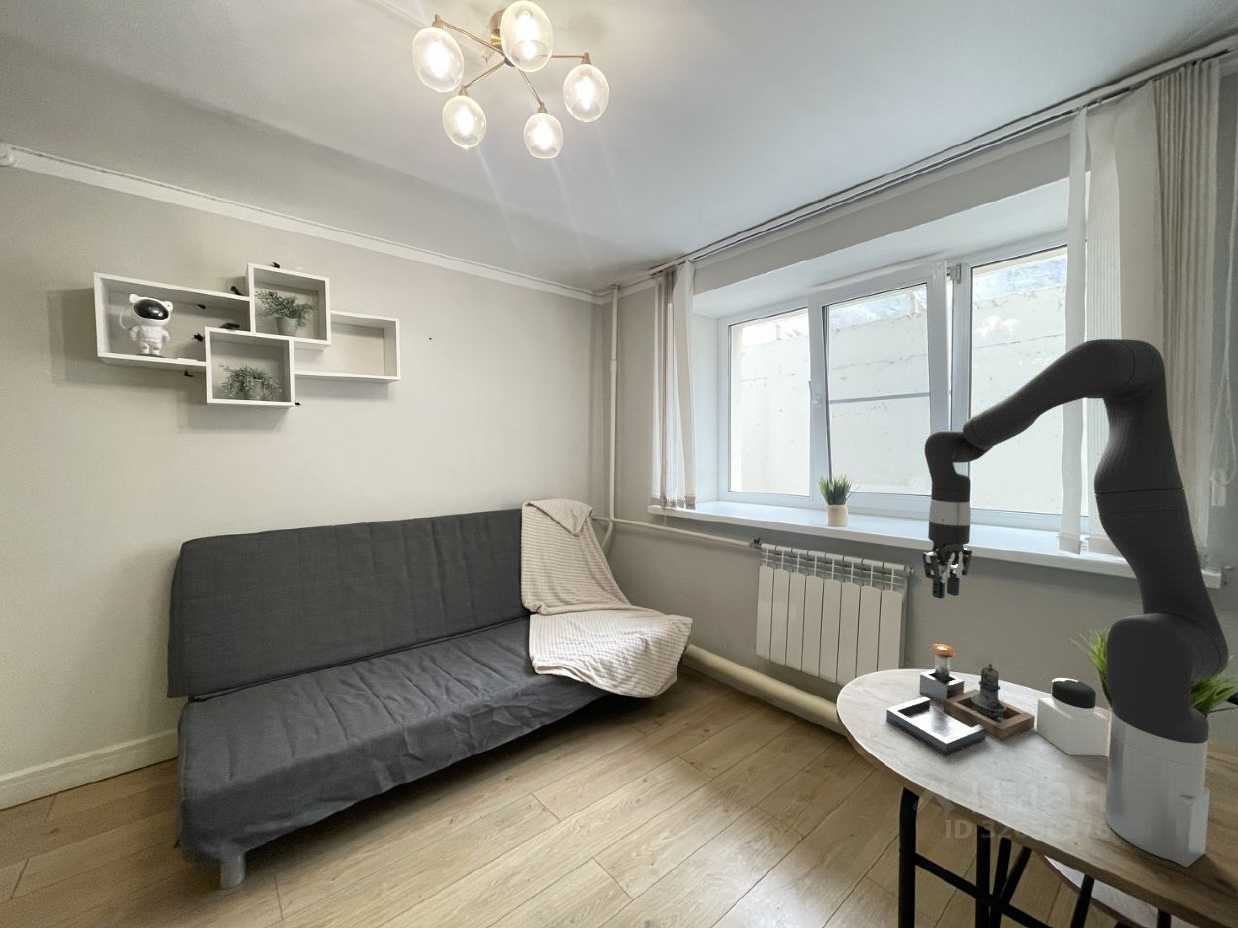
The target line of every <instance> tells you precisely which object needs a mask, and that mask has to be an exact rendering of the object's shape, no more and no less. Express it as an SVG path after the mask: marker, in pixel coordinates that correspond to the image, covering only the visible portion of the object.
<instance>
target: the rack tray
mask: <svg viewBox="0 0 1238 928" xmlns="http://www.w3.org/2000/svg"><path fill="white" fill-rule="evenodd" d="M885 716H886V717H885V719H886V720H885V721H886V722H888V723H889V724H891V725H893V726H894V727H896V728H898V729H899V730H901V731H903V732H904V733H906V734H907V735H909V736H911V737H913V738H914V739H916V740H918V741H919V742H920V743H923V744H924V745H926V746H927V747H929V748H931V749H932V750H933V751H936V752H937V753H939V754H940V755H942V756H944V757H948V756H951V755H953V754H956V753H958V752H960V751H963V750H966V749H968V748H970V747H973V746H975V745H977V744H980V743H983V742H985V741H986V739H987V737H986V735H987V734H986V728H985V727H983V726H981V725H977V726H974V727H973V726H972V727H970V725H968V724H966V723H963V722H961V721H960V720H957V718H956V719H955V717H953V716H950V715H949V714H946V713H944V712H942V711H940V710H939V709H936V708H935V707H933V706H931V698H929V697H927V696H922V697H919V698H916V699H914V700H913V699H912V700H910V701H906V702H903V703H901V704H898V705H893V706H892V707H889V708H886V715H885Z"/></svg>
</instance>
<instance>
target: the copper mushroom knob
mask: <svg viewBox="0 0 1238 928" xmlns="http://www.w3.org/2000/svg"><path fill="white" fill-rule="evenodd" d="M931 653H934V655H935V657H934V658H935V659H934V669H935V676H934V677H935V678H936V679H938V680H940V681H949V678H950V674H951V658H953V657H955V656H956V650H955V649H954V647H951V646H949V645H947V644H941V643H934V644H931Z"/></svg>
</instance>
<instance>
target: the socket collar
mask: <svg viewBox="0 0 1238 928" xmlns="http://www.w3.org/2000/svg"><path fill="white" fill-rule="evenodd" d="M979 693H980V689H979V690H978V689H977V688H975V689H972V690H969V691H966V692H964V693H963V694H960V695H957V696H954V697H951V698H948V699H945V700H944V705H943V713H944V712H945V714H946V713H947V715H949V716H950V715H951V717H953V718H956V719H958V720H959V721H960V722H961V721H962V723H963V722H964V724H966V725H968V726H972V727H974V726H977V725H981V726H983V727H985V728H986V735H988V736H990V737H992V738H994V739H996V740H998V741H1001V742H1004V741H1007V740H1008V739H1011V738H1013V737H1016V736H1019V735H1021V734H1024V733H1026V732H1028V731H1030V730H1032V729H1035V719H1036V717H1035V716H1036V715H1033V714H1031V713H1029V712H1027V711H1025V710H1023V709H1020V708H1018V707H1016V706H1014V705H1011V704H1009V703H1007V702H1005V701H1002V700H1001V699H999V701H1000V702H1002V703H1003V704H1004V705H1005V706H1006V710H1005V711H1004V714H1003V715H1002V716H1001V717H1003V718H1005V720H1002V722H1000V723H997V722H995V721H993V720H991V719H989V718H987V717H985V716H983V715H981V714H979V713H977V712H976V710H973V709H971V708H974V706H973V702H972V701H971V697H972V696H974V695H979Z"/></svg>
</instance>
